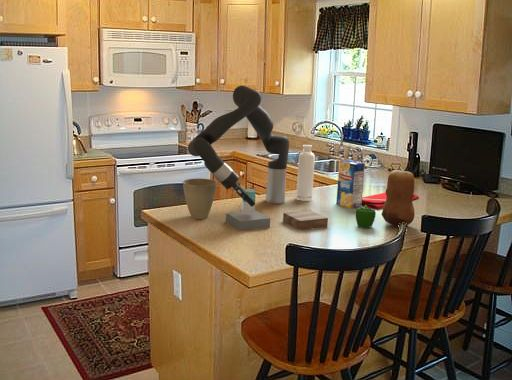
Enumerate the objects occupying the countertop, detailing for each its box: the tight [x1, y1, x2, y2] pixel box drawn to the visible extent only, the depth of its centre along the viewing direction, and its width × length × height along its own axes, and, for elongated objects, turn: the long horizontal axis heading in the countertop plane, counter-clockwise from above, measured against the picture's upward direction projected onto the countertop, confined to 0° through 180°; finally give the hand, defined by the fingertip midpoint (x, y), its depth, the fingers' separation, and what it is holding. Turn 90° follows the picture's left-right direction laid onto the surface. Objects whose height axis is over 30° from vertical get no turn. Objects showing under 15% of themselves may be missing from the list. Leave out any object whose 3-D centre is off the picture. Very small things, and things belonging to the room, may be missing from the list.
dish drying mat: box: [361, 191, 420, 211], centre depth 303 cm, size 16×41×4 cm, turn 136°
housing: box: [241, 188, 257, 213], centre depth 246 cm, size 5×5×9 cm
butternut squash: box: [381, 169, 415, 228], centre depth 254 cm, size 14×13×25 cm
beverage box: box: [336, 159, 366, 209], centre depth 288 cm, size 7×11×22 cm, turn 35°
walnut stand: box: [282, 209, 329, 231], centre depth 253 cm, size 14×14×4 cm
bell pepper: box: [355, 205, 377, 229], centre depth 252 cm, size 8×8×10 cm
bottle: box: [295, 144, 316, 202], centre depth 296 cm, size 8×8×28 cm
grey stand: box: [225, 209, 271, 231], centre depth 248 cm, size 14×14×4 cm
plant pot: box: [182, 177, 218, 220], centre depth 255 cm, size 15×15×16 cm
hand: (252, 203), depth 247 cm, fingers closed on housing, 5 cm apart
